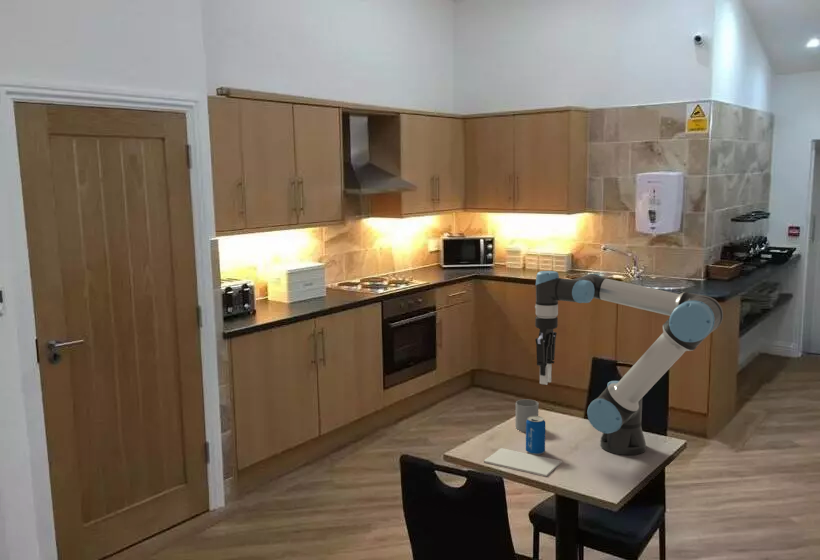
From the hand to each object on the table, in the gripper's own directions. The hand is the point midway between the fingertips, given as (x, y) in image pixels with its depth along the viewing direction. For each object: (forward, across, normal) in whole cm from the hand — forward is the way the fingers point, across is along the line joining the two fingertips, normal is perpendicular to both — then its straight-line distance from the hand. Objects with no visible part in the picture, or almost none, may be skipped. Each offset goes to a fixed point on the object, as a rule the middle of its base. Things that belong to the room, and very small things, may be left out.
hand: (545, 382), depth 248 cm
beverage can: (+23, +8, 0) cm, 24 cm away
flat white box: (+23, +18, 0) cm, 29 cm away
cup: (+23, -12, -12) cm, 28 cm away
